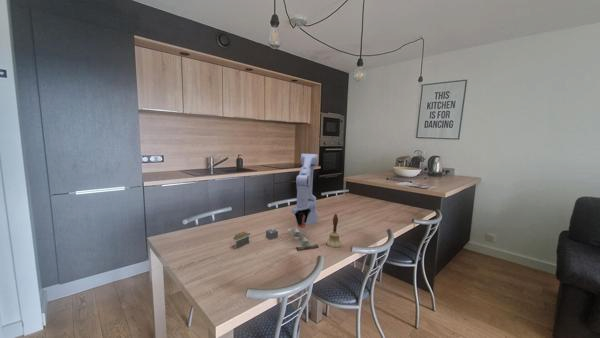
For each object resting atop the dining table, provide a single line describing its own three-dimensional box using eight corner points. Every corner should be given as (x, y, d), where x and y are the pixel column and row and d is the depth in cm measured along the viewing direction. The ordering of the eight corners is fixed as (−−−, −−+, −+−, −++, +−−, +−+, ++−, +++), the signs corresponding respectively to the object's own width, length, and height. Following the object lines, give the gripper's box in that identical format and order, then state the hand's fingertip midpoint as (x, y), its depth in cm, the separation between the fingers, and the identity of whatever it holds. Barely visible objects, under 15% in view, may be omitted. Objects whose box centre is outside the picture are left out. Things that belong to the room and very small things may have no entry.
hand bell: (343, 241, 129) (344, 212, 127) (340, 248, 122) (342, 217, 119) (327, 239, 132) (329, 210, 130) (324, 245, 124) (325, 215, 122)
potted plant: (218, 248, 120) (218, 235, 119) (247, 236, 134) (247, 224, 133) (234, 256, 112) (234, 242, 111) (262, 242, 127) (263, 230, 126)
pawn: (301, 224, 130) (302, 211, 129) (306, 226, 127) (307, 213, 126) (296, 225, 128) (296, 213, 127) (301, 228, 125) (301, 215, 124)
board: (300, 228, 145) (300, 226, 145) (318, 247, 122) (318, 245, 122) (282, 231, 141) (282, 229, 141) (297, 251, 118) (297, 248, 118)
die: (272, 236, 133) (272, 228, 132) (277, 239, 130) (277, 231, 129) (265, 238, 130) (265, 230, 130) (270, 241, 127) (270, 233, 126)
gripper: (305, 194, 133) (304, 218, 135) (287, 199, 122) (286, 225, 124) (315, 196, 129) (314, 221, 131) (298, 202, 118) (297, 229, 120)
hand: (301, 223), depth 127 cm, fingers closed on pawn, 3 cm apart
